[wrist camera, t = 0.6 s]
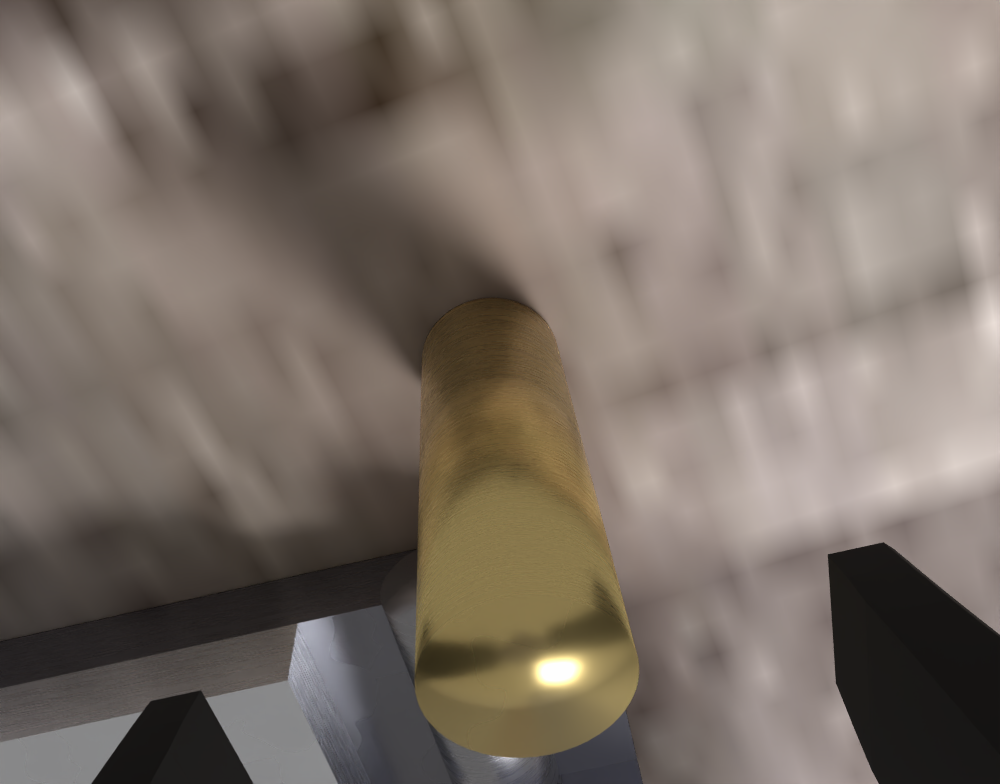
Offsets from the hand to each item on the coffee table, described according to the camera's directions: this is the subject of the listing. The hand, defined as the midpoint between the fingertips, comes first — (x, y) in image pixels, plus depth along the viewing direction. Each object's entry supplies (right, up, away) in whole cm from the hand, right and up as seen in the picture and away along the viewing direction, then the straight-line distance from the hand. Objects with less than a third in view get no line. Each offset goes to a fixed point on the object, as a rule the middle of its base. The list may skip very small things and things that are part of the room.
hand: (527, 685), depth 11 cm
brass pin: (0, +4, +7) cm, 8 cm away
